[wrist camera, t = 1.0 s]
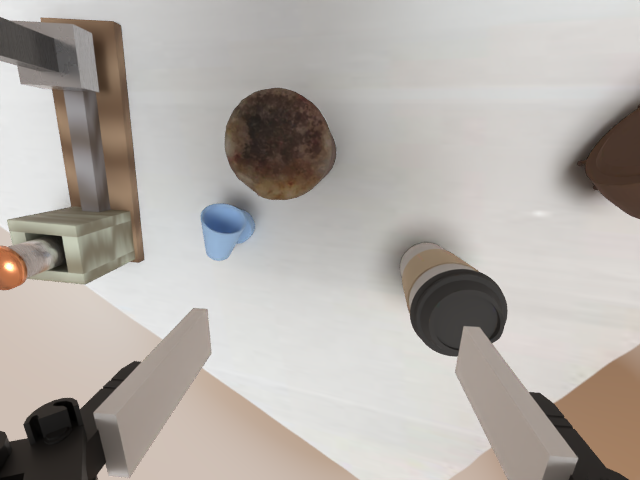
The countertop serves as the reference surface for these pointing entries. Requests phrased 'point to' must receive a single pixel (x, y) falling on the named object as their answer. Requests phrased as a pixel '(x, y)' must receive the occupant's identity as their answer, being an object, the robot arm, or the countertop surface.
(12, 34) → the carriage
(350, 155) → the countertop surface
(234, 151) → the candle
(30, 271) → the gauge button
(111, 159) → the rail
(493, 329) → the coffee cup
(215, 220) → the spotlight
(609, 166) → the alarm clock
